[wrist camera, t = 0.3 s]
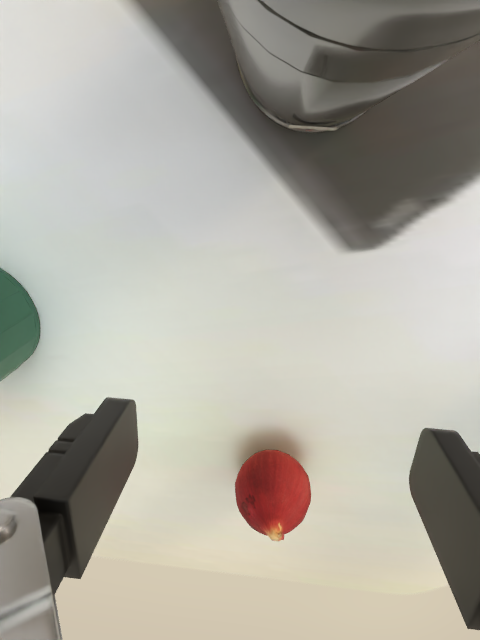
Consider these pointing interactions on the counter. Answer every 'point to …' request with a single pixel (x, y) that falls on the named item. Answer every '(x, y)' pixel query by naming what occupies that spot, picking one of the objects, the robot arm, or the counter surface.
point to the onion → (272, 493)
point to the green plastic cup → (16, 325)
